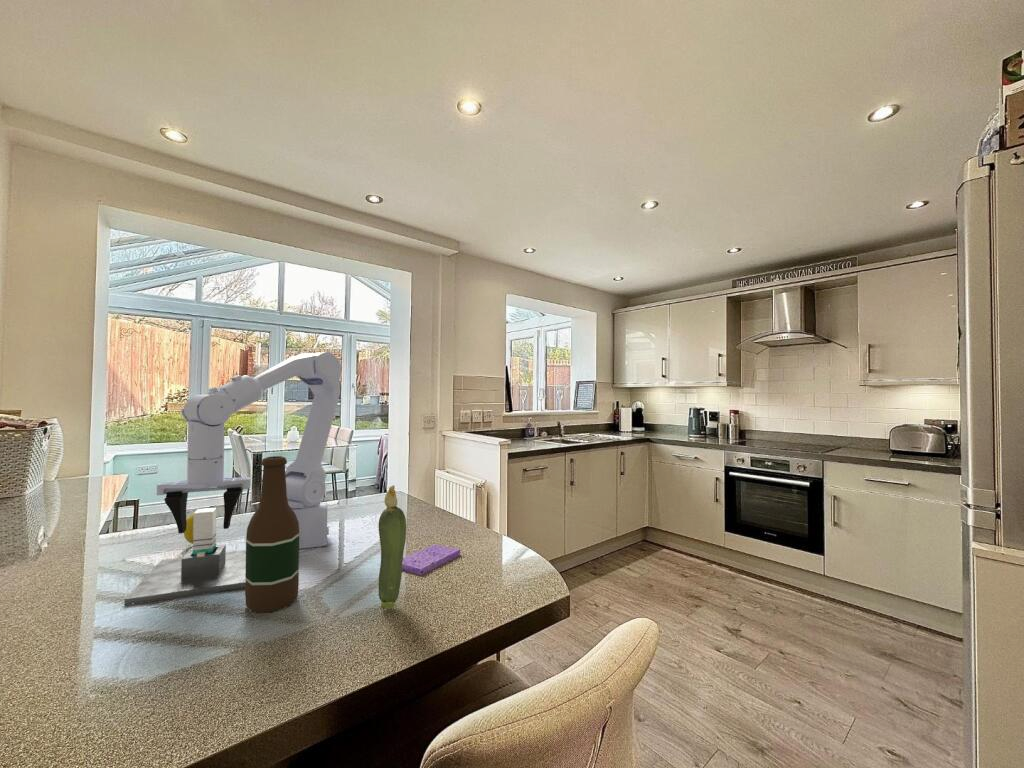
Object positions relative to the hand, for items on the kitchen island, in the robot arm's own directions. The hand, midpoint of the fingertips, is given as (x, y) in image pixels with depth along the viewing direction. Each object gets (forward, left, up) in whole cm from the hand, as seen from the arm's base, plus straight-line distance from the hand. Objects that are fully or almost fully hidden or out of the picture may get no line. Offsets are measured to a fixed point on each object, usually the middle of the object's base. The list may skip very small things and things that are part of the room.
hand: (204, 529), depth 84 cm
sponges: (-41, +9, -9) cm, 43 cm away
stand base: (0, 0, -9) cm, 9 cm away
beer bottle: (-13, +17, -9) cm, 23 cm away
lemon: (+5, -19, -9) cm, 22 cm away
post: (0, 0, -4) cm, 4 cm away
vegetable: (-31, +26, -9) cm, 41 cm away
